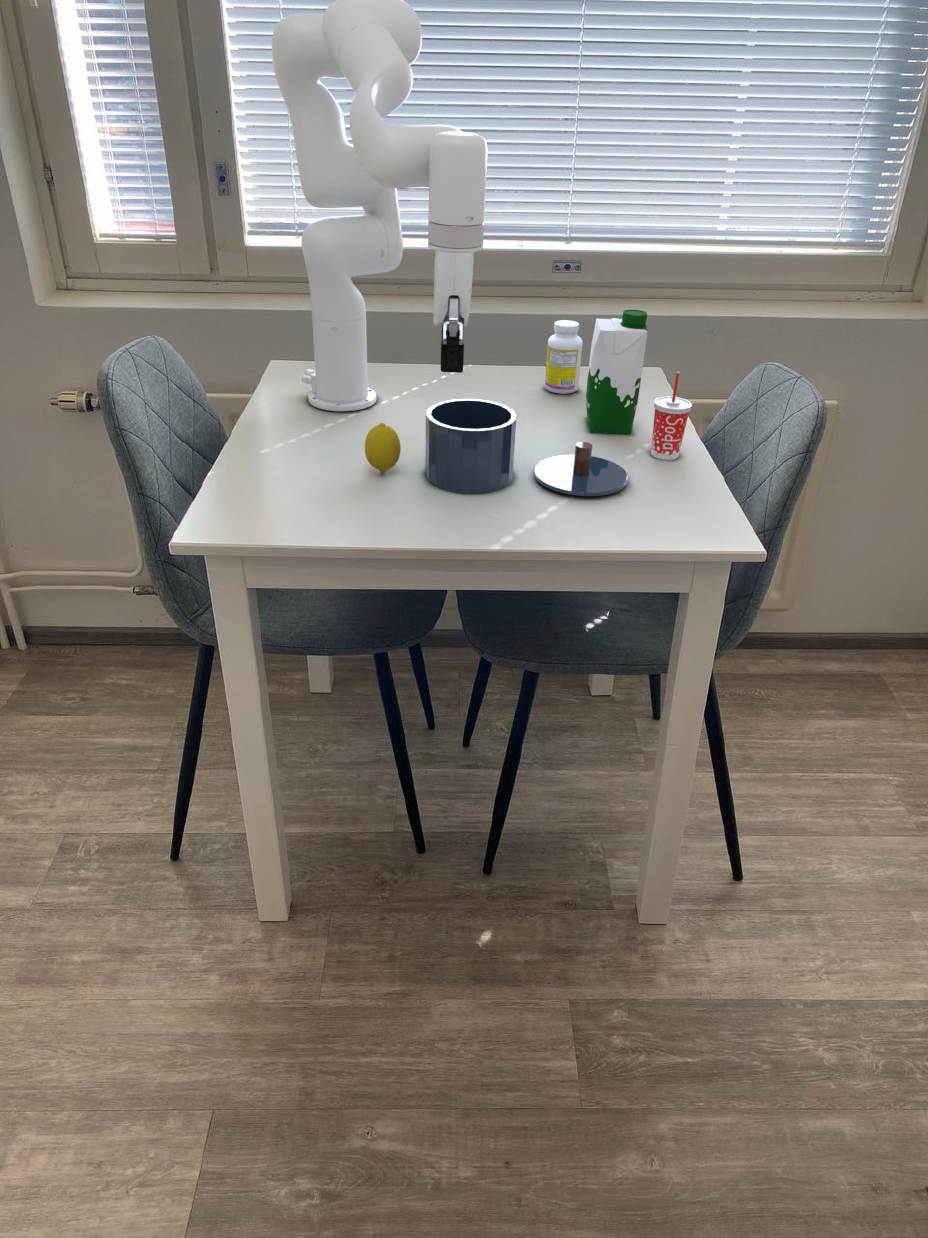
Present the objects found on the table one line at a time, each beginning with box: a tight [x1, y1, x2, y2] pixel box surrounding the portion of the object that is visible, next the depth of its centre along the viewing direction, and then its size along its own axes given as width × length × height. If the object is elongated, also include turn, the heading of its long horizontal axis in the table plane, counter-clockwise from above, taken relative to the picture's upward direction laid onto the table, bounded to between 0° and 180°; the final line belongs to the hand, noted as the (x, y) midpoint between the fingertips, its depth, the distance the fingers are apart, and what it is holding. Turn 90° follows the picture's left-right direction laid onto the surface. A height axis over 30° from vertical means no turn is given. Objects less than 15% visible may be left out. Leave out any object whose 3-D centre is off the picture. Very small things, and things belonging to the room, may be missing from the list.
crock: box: [424, 398, 517, 495], centre depth 138 cm, size 14×14×10 cm
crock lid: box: [533, 441, 629, 497], centre depth 139 cm, size 15×15×6 cm
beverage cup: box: [650, 371, 693, 461], centre depth 146 cm, size 6×6×14 cm
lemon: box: [364, 422, 402, 473], centre depth 138 cm, size 6×6×8 cm
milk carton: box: [585, 309, 648, 435], centre depth 155 cm, size 9×9×20 cm
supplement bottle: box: [544, 319, 583, 395], centre depth 173 cm, size 7×7×13 cm
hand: (451, 360), depth 131 cm, fingers open, 9 cm apart
